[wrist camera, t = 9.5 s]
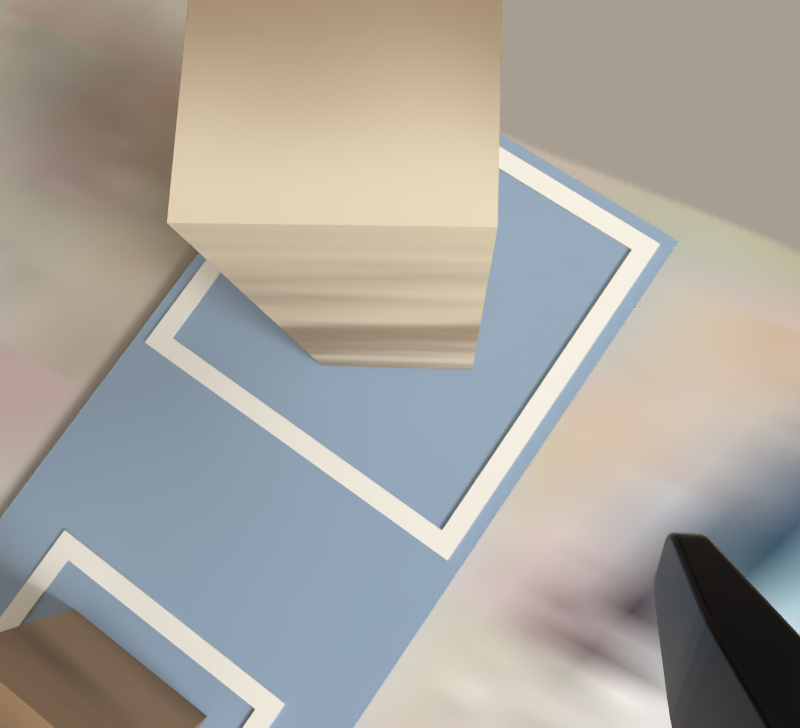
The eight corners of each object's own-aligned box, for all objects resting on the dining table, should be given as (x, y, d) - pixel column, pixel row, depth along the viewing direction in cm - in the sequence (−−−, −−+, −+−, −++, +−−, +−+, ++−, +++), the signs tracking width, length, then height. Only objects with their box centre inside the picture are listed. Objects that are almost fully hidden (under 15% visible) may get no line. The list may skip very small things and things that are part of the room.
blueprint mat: (165, 1006, 19) (159, 1017, 19) (-149, 724, 21) (-160, 729, 21) (675, 245, 22) (679, 240, 21) (354, 50, 24) (353, 43, 23)
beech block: (472, 369, 21) (498, 227, 10) (321, 365, 22) (167, 223, 10) (475, 224, 22) (503, -75, 10) (330, 222, 22) (194, -70, 11)
